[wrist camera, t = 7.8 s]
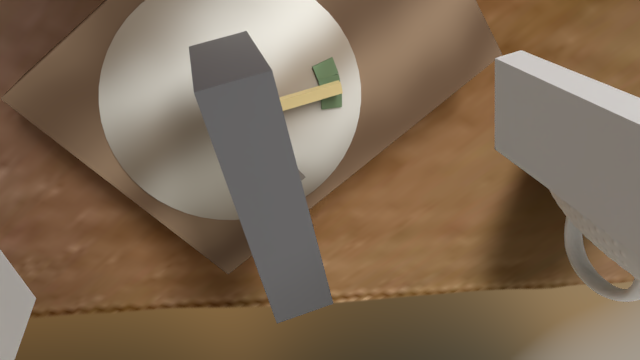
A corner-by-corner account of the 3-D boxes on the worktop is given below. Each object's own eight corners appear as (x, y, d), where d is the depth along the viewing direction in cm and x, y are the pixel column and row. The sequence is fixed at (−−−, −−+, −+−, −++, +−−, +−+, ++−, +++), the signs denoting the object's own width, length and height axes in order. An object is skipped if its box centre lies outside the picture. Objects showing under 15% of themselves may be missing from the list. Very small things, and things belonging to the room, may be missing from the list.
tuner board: (23, 75, 26) (-2, 101, 22) (334, -211, 24) (363, -234, 20) (222, 239, 34) (228, 277, 31) (467, 40, 32) (505, 55, 28)
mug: (588, 235, 45) (724, 339, 34) (488, 243, 42) (601, 359, 31) (655, 81, 38) (852, 147, 27) (541, 77, 35) (711, 149, 24)
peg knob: (243, 193, 28) (276, 323, 19) (186, 24, 23) (193, 92, 14) (351, 159, 29) (431, 268, 20) (319, -11, 24) (407, 31, 15)
